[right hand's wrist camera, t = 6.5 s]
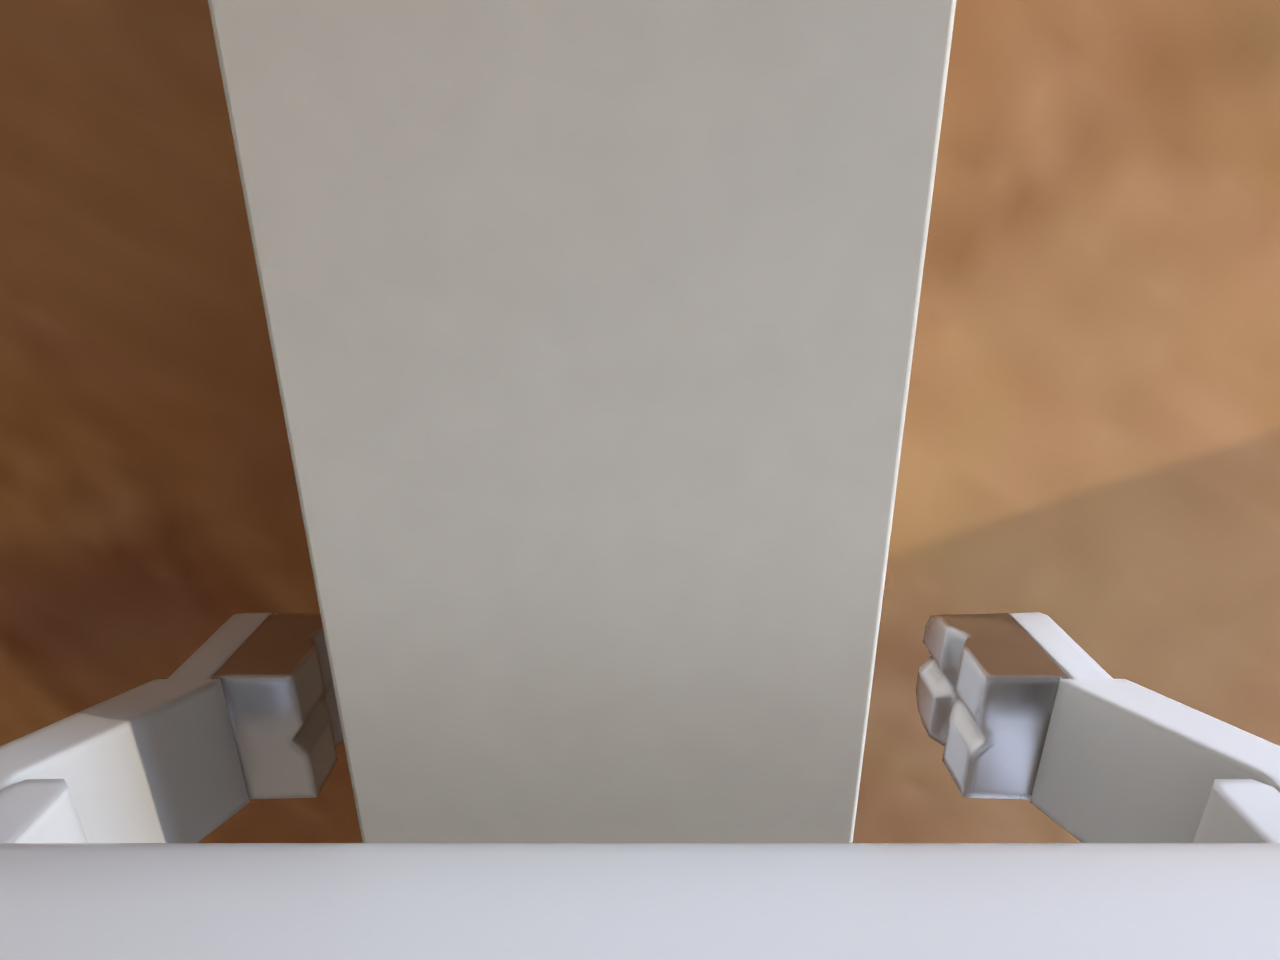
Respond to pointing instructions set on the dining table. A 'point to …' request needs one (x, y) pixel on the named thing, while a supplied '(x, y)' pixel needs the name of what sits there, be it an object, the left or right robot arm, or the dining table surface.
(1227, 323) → the dining table surface
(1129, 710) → the right robot arm
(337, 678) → the post
